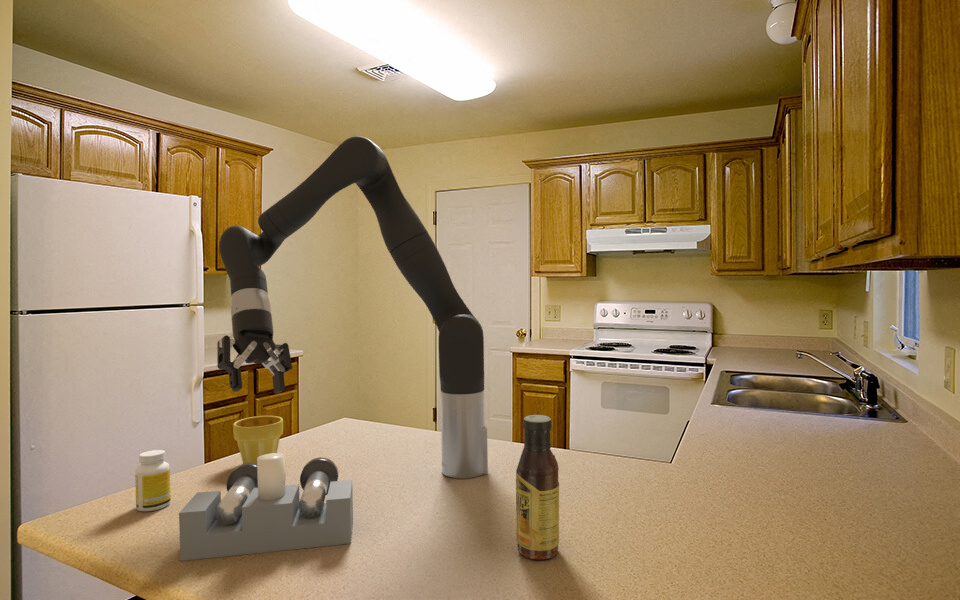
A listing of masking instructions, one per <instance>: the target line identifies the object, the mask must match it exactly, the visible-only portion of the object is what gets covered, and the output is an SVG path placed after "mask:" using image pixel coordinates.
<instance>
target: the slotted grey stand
mask: <svg viewBox="0 0 960 600" xmlns="http://www.w3.org/2000/svg"><path fill="white" fill-rule="evenodd" d="M285 486H286V494H285V495H284V496H283V497H281V498H278V499H274V500H260V499H259V498H258V488H254V489H253V490H252V492H251V493H250V495H249V497H248V498H247V500H246V502H245V503H244V505H243V506H242V513H241V515H240V517H239V518H238V520H237V521H236V522H235V523H233V524H230V525H223V524H221V523H219V522H218V521H217V520H216V518H215V510H216V508H217V506H218V505H219V503H220V502H221V501H222V497H221V496H222V492H221V491H222V490H213V491H211V490H210V491H200V492H196V493H195V494H194V495H193V496H192V497H191V498H190V500H189V501H188V502H187V503H186V504H185V505H184V506H183V507H182V509H181V510H180V511H179V512H178V525H179V558H180V559H179V560H180V562H185V561H193V560H194V561H195V560H203V559H212V558H213V559H214V558H221V557H223V558H224V557H234V556H241V555H242V556H243V555H251V554H252V555H253V554H262V553H271V552H282V551H291V550H300V549H301V550H302V549H309V548H310V549H311V548H319V547H321V548H322V547H331V546H339V545H349V544H352V538H353V526H354V502H353V499H354V498H353V497H354V496H353V495H354V494H353V480H352V479H347V480H338V481H333V482H330V487H329V491H328V494H327V495H326V498H325V501H326V502H324V504H323V508H322V510H321V512H320V513H319V514H318V515H316V516H314V517H306V516H304V515H302V514H301V512H300V511H299V502H300V483H299V484H285Z"/></svg>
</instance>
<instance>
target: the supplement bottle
mask: <svg viewBox="0 0 960 600" xmlns="http://www.w3.org/2000/svg"><path fill="white" fill-rule="evenodd" d="M138 459H139V464H140V465H138V466H137V467H136V469H135V471H134V473H135V476H134V477H135V479H134V481H135V482H134V483H135V508H136V510H137V511H139V512H153V511H158V510H161V509H164V508H165V507H168V506H169V505H170V504H171V469H170V464H169V463H168V462H166V461H165V460H166V451H165V450H163V449H155V450H154V449H152V450H148V451H145V452H141V453H140V454H139V458H138Z"/></svg>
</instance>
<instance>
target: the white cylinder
mask: <svg viewBox="0 0 960 600" xmlns="http://www.w3.org/2000/svg"><path fill="white" fill-rule="evenodd" d="M257 472H258V498H259V499H260V500H274V499H278V498H281V497H283V496H284V495H285V494H286V486H285V485H286V455H285V454H284V453H281V452H277V453H270V454H265V455H262V456H259V457H258V458H257Z"/></svg>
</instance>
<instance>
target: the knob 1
mask: <svg viewBox="0 0 960 600" xmlns="http://www.w3.org/2000/svg"><path fill="white" fill-rule="evenodd" d="M254 488H258V472H257V464H256V463H244V464H243V463H242V464H240V465H237V467H235V468H234V469H233V470H232V472H231V473H230V474H229V476H228V478H227V480H226V491H227V493H226V494H225V495H224V497H222V498H221V502H220V503H219V505H218V506H217V508H216V510H215V518H216V520H217V521H218V522H219V523H221V524H223V525H230V524H233V523H235V522H236V521H237V520H238V518H239V517H240V515H241V513H242V506H243V505H244V503H245V502H246V500H247V498H248V497H249V495H250V493H251V492H252V490H253V489H254Z"/></svg>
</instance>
